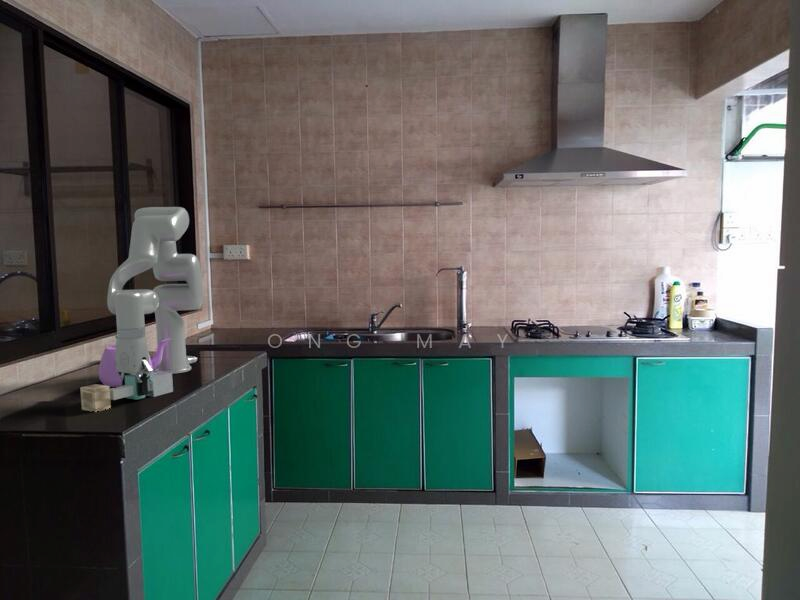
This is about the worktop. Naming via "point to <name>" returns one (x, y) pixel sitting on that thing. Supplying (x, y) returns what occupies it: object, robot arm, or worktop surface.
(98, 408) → the socket
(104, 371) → the teapot
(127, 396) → the plug
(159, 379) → the sleeve
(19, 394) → the worktop surface
